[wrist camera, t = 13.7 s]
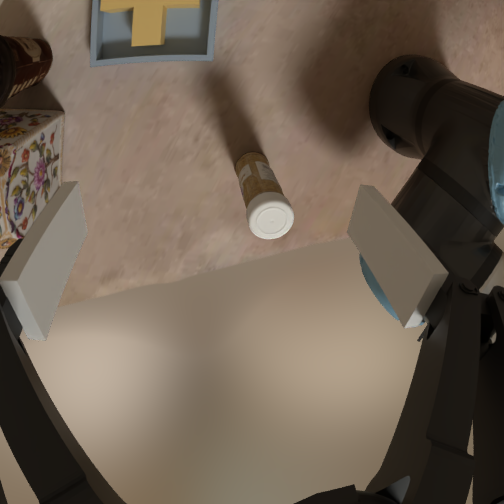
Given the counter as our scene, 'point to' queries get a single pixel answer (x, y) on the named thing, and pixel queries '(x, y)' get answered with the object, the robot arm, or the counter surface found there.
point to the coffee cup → (22, 64)
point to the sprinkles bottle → (263, 197)
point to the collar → (147, 17)
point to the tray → (175, 48)
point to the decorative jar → (28, 168)
